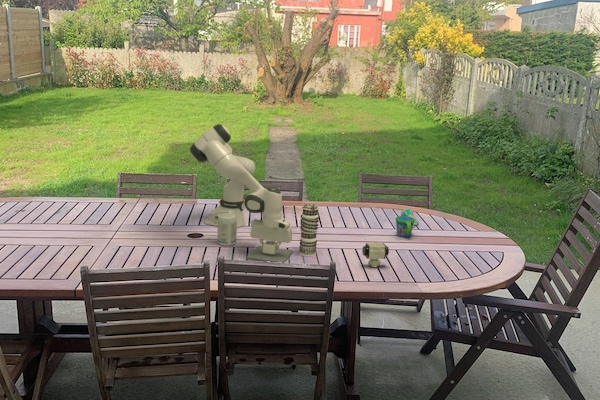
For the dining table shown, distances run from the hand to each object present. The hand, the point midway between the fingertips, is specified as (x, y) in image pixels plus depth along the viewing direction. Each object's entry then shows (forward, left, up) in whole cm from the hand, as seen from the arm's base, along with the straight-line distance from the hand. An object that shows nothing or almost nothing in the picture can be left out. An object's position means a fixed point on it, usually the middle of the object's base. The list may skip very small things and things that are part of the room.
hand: (270, 248), depth 292 cm
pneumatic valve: (+50, +6, -4) cm, 51 cm away
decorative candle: (+16, +11, -4) cm, 20 cm away
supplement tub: (-26, +9, -4) cm, 28 cm away
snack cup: (+59, +61, -4) cm, 85 cm away
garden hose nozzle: (+59, +87, -4) cm, 106 cm away
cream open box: (0, 0, -2) cm, 2 cm away
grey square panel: (0, 0, -4) cm, 4 cm away
